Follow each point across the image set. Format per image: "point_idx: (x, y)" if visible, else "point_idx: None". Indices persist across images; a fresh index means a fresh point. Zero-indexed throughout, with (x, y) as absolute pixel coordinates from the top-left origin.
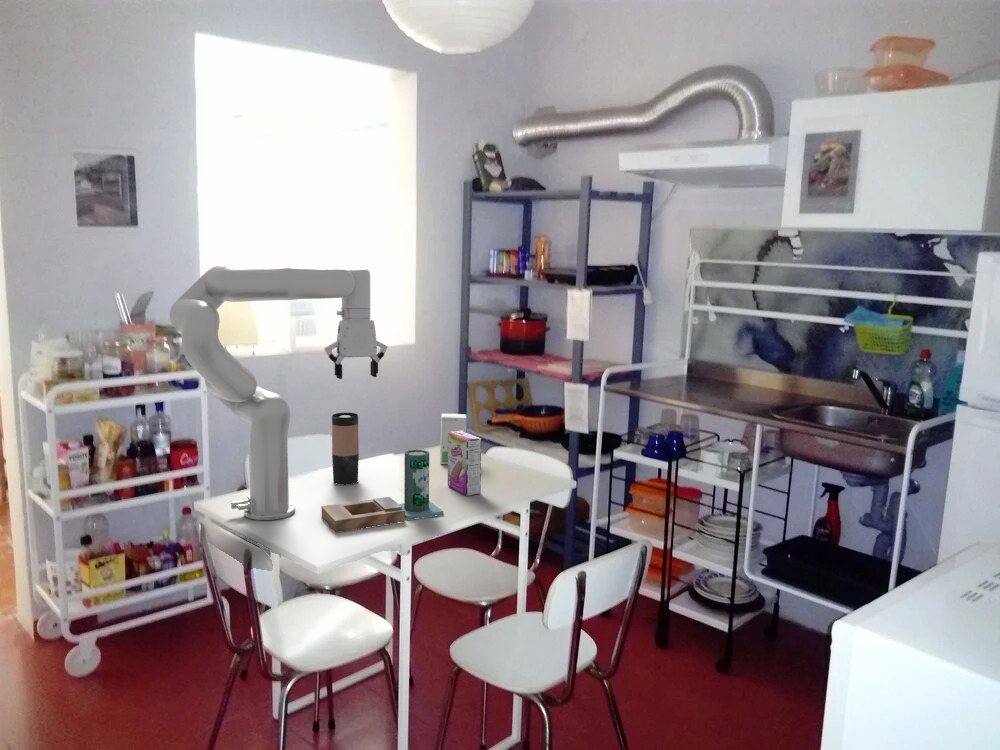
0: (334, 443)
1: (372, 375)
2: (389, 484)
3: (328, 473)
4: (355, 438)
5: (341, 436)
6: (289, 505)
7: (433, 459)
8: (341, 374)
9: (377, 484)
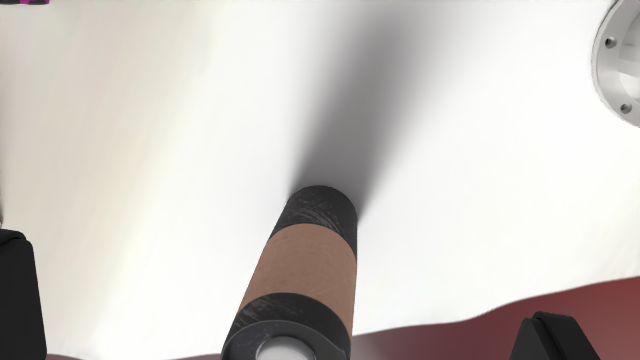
0: (354, 286)
1: (33, 299)
2: (213, 124)
3: None
4: (273, 260)
5: (333, 278)
6: (615, 46)
7: None
8: (569, 355)
9: (247, 144)
